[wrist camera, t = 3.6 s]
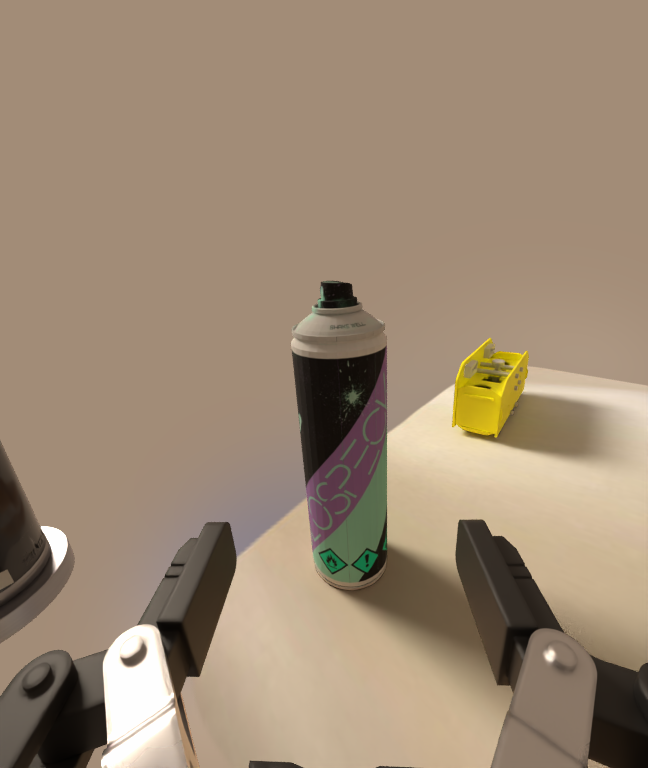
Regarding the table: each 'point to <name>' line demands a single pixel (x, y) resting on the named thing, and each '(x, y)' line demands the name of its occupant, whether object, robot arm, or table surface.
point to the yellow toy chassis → (488, 389)
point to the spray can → (344, 435)
